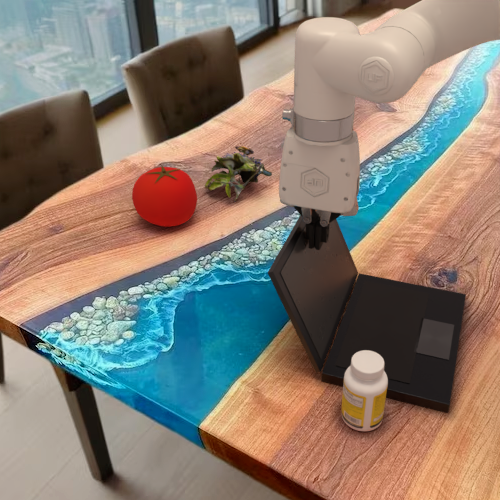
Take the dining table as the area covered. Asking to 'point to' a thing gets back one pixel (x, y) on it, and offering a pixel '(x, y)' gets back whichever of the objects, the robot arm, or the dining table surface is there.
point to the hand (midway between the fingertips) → (316, 243)
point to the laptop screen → (314, 287)
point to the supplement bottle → (364, 391)
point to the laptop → (402, 338)
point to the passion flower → (236, 171)
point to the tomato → (165, 196)
